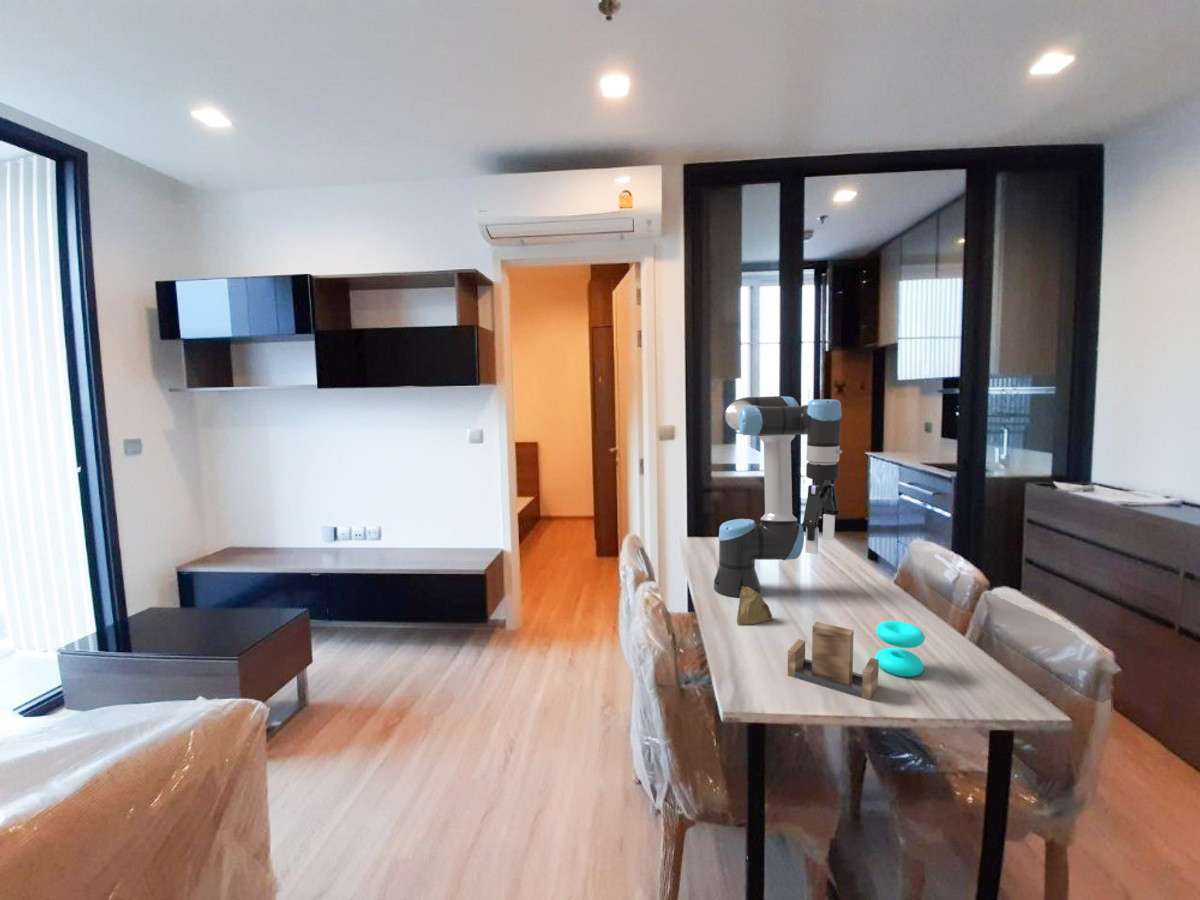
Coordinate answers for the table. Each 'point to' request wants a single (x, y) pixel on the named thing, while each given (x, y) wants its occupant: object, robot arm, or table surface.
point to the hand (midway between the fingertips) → (820, 546)
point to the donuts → (898, 658)
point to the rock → (752, 608)
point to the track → (830, 680)
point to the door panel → (832, 652)
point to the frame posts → (869, 673)
